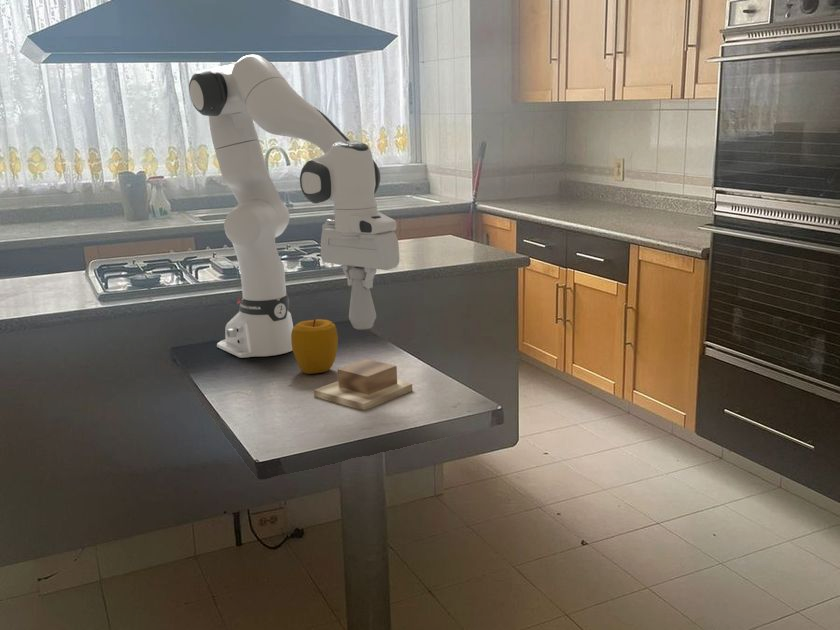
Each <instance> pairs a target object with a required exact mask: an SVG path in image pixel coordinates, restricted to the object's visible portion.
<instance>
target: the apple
mask: <svg viewBox="0 0 840 630" xmlns="http://www.w3.org/2000/svg"><path fill="white" fill-rule="evenodd" d="M338 339H339V335H338V330H337V327H336V324H335V323H333V322H332V321H331V320H328V319H321V318H318V319H315V318H314V319H310V320H308V319H307V320H302V321H299V322H298V323H296V324H295V325H293V329H292V333H291V345H292V353H293V356H294V358H295V360H296V362H297V365H298V367H299V369H300V370H301V372H302V373H304V374H306V375H308V374H309V375H311V374H319V373H326V372H328V371H329V370H331V368H332V367H333V365H334V363H335V360H336V357H337V352H338V346H339V345H338V344H339V343H338V341H339V340H338Z"/></svg>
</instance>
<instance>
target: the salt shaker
mask: <svg viewBox="0 0 840 630" xmlns="http://www.w3.org/2000/svg"><path fill="white" fill-rule="evenodd" d="M366 274H367V273H365V268H364V267H357V266H354V267H353V268H351V269H350V270H349V276H350V278H351V279H353V280H352V286H351V289H350V290H351V292H350V302H349V313H348V319H349V321H350V323H351V326H352V328H354V329H356V330H368V329H369V330H370V329H371V328H373V326H374V324H375V321H376V319H377V313H376V308H375V304H374V299H373V297H372V294H371V293H372V292H371V290H370V289H371V288H369V289H367V288H363V284H362V280H364V279H365V277H366Z"/></svg>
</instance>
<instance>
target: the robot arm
mask: <svg viewBox="0 0 840 630" xmlns="http://www.w3.org/2000/svg"><path fill="white" fill-rule="evenodd" d="M188 92H189V97H190V100H191V103H192V106H193V107H194V108H195V110H196V111H197V112H198V113H199V114H201V115H202V116H207V117H208V125H209V129H210V130H209V131H210V136H211V140H212V141H211V142H212V144H213V149H214V152H215V156H216V159H217V163H218V166H219V170H220V173H221V176H222V180H223V182H224V184H225V185H226V186H227V187H228V188H229V189H230V191H231V193H232V194H233V196H234V198H235V199H236V202H237V205H236V206H234V207H233V208H232V209H231V210H230V211H229V213H227V215H226V217H225V219H224V222H223V230H224V233H225V236H226V237H227V239H228V240H229V241H230V242H231V244H232V247H233V249H234V253H235V256H236V258H237V262H238V267H239V272H240V280H241V281H240V283H241V292H242V297H241V298H238V299H236V301H238V302H237V304H238V305H239V308H238V309H239V311H238V312H237V313H236V314H235V315H234V316H233V317H232V318H231V319H230V320H229V321H228V322H227V323H226V325H225V333H224V335H225V339H222V340H220V341H219V342H217V343H216V347H217V348H219V349H221V350H222V351H225V352H226V353H229V354H232V355H234V356H236V357H238V358H241V359H243V358H250V357H251V358H252V357H270V356H271V357H272V356H278V355H282V354H287V353H289V352H293V350H292V345H291V333H292V329H293V328H294V324H293V319H292V314H291V312H290V311H289V308H290V299H289V294H288V293H287V286H286V274H285V273H286V272H285V271H286V270H285V265H284V263H283V261H282V259H281V258H280V254H279V251H278V248H277V245H276V244H277V243H276V238H278V237H279V236H281V235H282V234H283V233H284V232H285V230H286V229H287V227H288V225H289V223H290V212H289V208H288V207H287V205H286V204H285V203H284V202H283V201H282V199H281V197H280V194H279V192H278V190H277V188H276V186H275V184H274V182H273V180H272V178H271V175H270V173H269V171H268V168H267V164H266V161H265V158H264V154H263V150H262V147H261V143H260V140H259V135H258V133H257V130H256V127H255V124H256V125H258V126H259V128H261V129H262V130H263V131H265V132H266V133H269V134H272V135H276V136H282V137H289V138H295V139H299V140H303V141H306V142H309V143H311V144H313V145H315V146H316V147H317V148H319V149H320V150H321V151H322V152H323V154H322V155H321V156H318V157H316V158H313V159H311V160H308V161H306V162H305V164H304V165H303V167H301V171H300V176H299V184H300V189H301V192H302V194H303V196H304V197H305V198H306V199H307V201H309V202H310V203H312V204H318V205H327V204H333V211H334V212H333V213H334V214H333V215H334V219H330V218H329V219H326V221H325V222H324V223H323V224H322V226H321V229H322V231H321V237H320V258H321V260H322V262H323V263H327V264H333V265H342V271H343V273H344V275H345V277H346V278H347V285H348V286H349V287H352V280H353V279H351V278H350V276H349V270H350V269H351V268H353V267H364V268H365V273H367V274H366V277H365V279H364V280H362V284H363V288H367V289H373V288H374V278H375V276H376V274H377V270H383V271H390V270H393V269H396V268H397V267H398V266H399V263H400V248H399V247H400V246H399V240H398V236H397V233H395V232H394V231H396V230H397V227H398V225H397V221H396V220H395V219H394V218H391V217H390V216H387V215H386V214H384V213H382V212H380V211H379V210H378V204H377V203H378V202H377V201H376V198H375V195H376V192H377V191H378V189H379V188H380V183H381V172H380V169H379V166H378V165H377V163H376V161H375V160H374V157H373V154H372V153H373V152H372V149H371V148H370V146H369V145H368V144H366V143H364V142H362V141H361V142H360V141H356V140H354V141H353V140H350V139H349V138H348V137H347V136H346V135H345V133H343V132H342V131H341V130H340V129H339V127H338V126H336V124H335V123H334V122H333V121H331V119H330V118H329V117H327V115H326V114H325V113H323V112H322V111H321V110H319V109H318V108H316V107H315V106H313V105H312V104H310V102H308V101H307V100H305V98H303V97H302V96H301V95H300V94H299V93H298V92H296V90H294V88H293V87H292V86H291V85H290V83H289V82H288V81H287V80H286V78H285V77H284V76H283V75H282V74H281V73H280V71H279V70H278V69H277V67H275V65H274V63H271V62H270V61H268V60H267V59H266V58H264V57H263V56H261V55H259V54H247V55H245V56H242V57H241V58H239V59H238V60H237V61H236V62H232V63H229V64H225V65H221V66H217V67H214V68H210V69H209V68H206V69H202V70H199V71H197V72H195V73H193V75H192V76H191V78H190V80H189V83H188ZM254 122H255V123H254Z"/></svg>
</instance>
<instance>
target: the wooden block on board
mask: <svg viewBox="0 0 840 630" xmlns="http://www.w3.org/2000/svg"><path fill="white" fill-rule="evenodd" d="M397 369H398V368H397V365H395V364H391V363H387V362H382V361H377V360H372V359H369V358H365V359H362V360H360V361H357V362H354V363H351V364H349V365H345V366H343V367H340V368H337V381H334V382H331V383H329V384H326V385H323V386H320V387H318V388H315V389H313V395H314V397H315V398H318V399H322V400H326V401H330V402H333V403H336V404H340V405H343V406H346V407H349V408H353V409H357V410H360V411H367V410H369V409H371V408H374V407H377V406H378V405H381V404H383V403H386V402H388V401H391V400H393V399H396V398H397V397H400V396H403V395H405V394H407V393H410V392H412V391H413V384H412V383H410V382H405V381H401V380H398V370H397Z"/></svg>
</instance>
